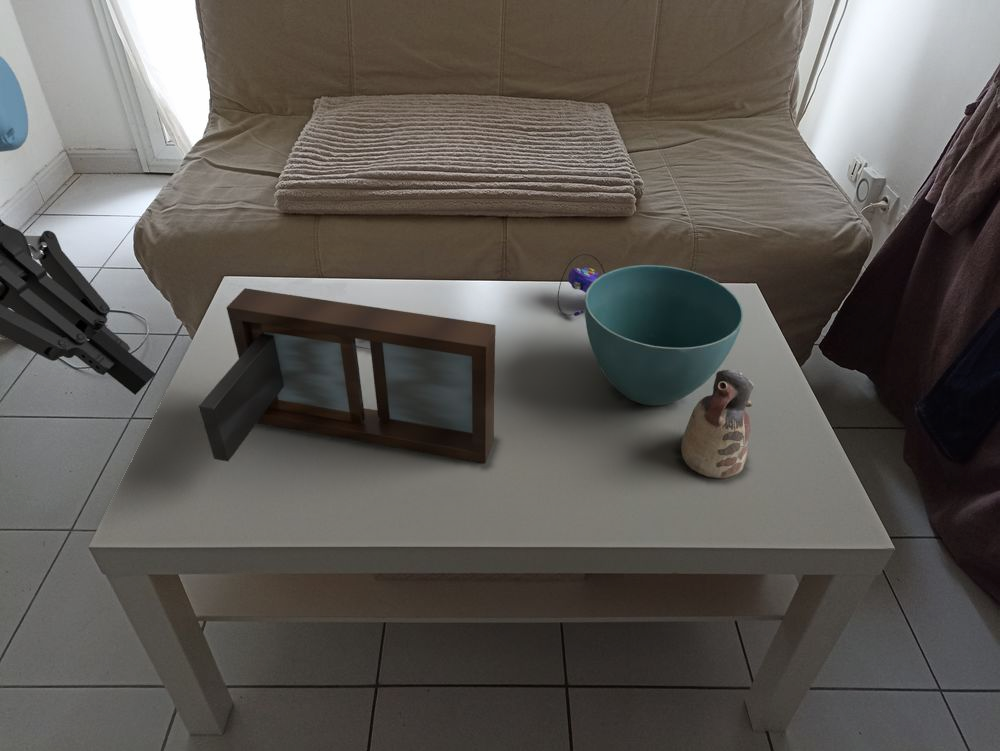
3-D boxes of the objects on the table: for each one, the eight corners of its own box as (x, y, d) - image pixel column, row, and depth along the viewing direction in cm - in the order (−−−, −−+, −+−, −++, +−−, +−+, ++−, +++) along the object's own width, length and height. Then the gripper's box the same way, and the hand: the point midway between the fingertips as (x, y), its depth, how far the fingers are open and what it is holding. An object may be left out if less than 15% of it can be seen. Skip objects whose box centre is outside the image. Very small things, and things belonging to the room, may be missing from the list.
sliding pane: (212, 483, 78) (184, 390, 70) (272, 402, 88) (252, 314, 81) (316, 503, 76) (298, 410, 68) (365, 419, 86) (354, 330, 79)
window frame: (254, 422, 88) (226, 307, 78) (270, 401, 91) (244, 287, 81) (485, 463, 83) (486, 346, 74) (493, 439, 87) (495, 324, 77)
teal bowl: (549, 393, 93) (555, 310, 86) (619, 327, 105) (630, 249, 98) (684, 454, 85) (704, 369, 78) (744, 376, 97) (766, 294, 89)
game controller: (631, 265, 111) (641, 288, 102) (610, 313, 115) (617, 339, 106) (569, 243, 110) (573, 264, 101) (549, 292, 114) (551, 317, 105)
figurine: (756, 459, 85) (783, 375, 77) (719, 489, 81) (744, 404, 74) (704, 427, 89) (725, 344, 82) (667, 454, 85) (684, 370, 78)
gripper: (-29, 204, 75) (165, 363, 82) (-145, 268, 65) (88, 443, 72) (-4, 158, 70) (198, 330, 78) (-124, 219, 60) (121, 409, 68)
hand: (145, 384), depth 75 cm, fingers closed
